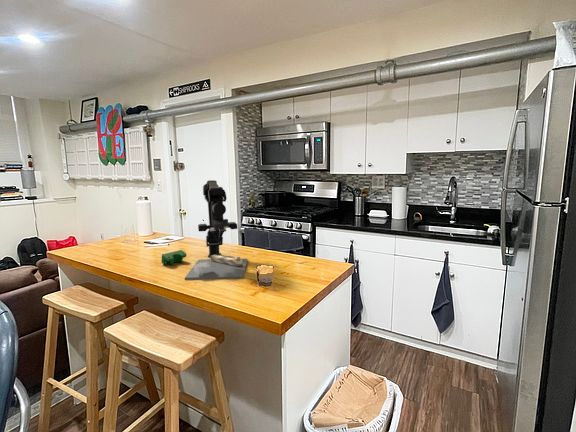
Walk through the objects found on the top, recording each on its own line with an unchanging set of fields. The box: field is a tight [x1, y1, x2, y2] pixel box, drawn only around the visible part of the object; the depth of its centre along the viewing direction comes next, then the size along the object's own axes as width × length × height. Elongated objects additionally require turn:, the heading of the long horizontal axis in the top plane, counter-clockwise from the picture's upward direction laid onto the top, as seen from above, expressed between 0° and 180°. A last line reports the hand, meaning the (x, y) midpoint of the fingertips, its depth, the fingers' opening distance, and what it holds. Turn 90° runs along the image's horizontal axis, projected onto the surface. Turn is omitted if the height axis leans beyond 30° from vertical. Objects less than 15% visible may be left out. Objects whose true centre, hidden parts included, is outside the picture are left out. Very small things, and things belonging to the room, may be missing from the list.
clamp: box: [161, 249, 187, 267], centre depth 165 cm, size 12×6×9 cm, turn 133°
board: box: [184, 258, 248, 281], centre depth 155 cm, size 28×26×1 cm
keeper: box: [193, 261, 214, 277], centre depth 146 cm, size 8×7×5 cm
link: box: [209, 255, 243, 266], centre depth 161 cm, size 20×4×4 cm, turn 58°
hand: (218, 243), depth 158 cm, fingers closed
